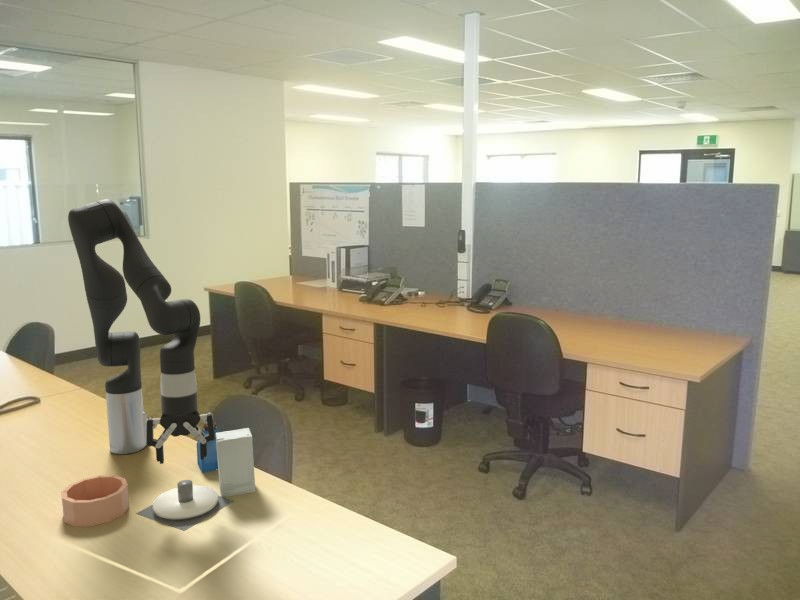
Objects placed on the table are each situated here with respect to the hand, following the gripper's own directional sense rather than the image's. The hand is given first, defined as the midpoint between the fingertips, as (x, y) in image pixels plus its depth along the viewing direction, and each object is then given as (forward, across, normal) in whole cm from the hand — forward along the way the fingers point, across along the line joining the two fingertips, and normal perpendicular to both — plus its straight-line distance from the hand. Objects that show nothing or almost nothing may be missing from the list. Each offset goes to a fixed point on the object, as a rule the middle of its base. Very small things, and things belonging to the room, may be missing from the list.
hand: (182, 460), depth 140 cm
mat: (+12, 0, 0) cm, 12 cm away
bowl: (+12, -19, +4) cm, 23 cm away
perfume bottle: (+12, +6, +22) cm, 25 cm away
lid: (+11, 0, 0) cm, 11 cm away
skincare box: (+12, +12, +6) cm, 18 cm away
